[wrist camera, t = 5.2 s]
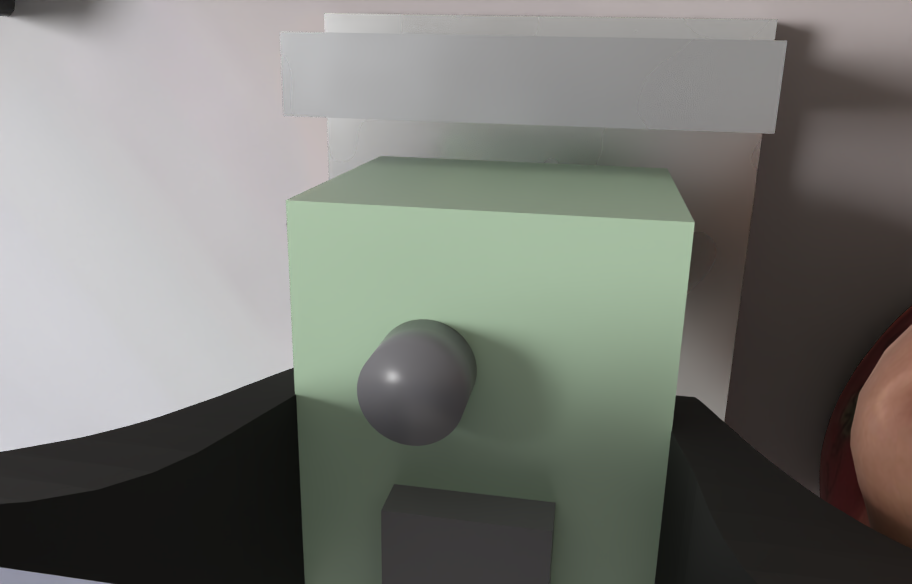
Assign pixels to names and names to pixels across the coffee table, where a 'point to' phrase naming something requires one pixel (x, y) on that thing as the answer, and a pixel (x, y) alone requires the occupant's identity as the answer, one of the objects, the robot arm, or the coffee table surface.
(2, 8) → the disk drive
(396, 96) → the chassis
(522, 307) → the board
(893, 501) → the decorative planter
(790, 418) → the coffee table surface
